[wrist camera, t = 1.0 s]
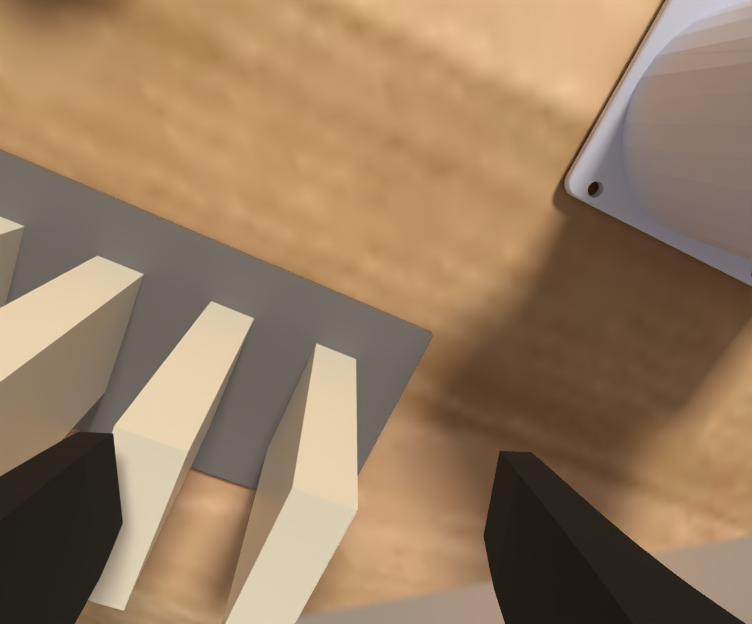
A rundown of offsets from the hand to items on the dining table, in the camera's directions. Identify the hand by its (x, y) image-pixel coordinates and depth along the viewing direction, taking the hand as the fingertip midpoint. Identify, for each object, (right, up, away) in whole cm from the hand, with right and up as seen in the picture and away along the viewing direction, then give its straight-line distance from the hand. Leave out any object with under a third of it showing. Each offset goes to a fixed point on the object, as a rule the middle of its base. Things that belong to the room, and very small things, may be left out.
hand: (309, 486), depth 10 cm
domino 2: (-5, +1, +10) cm, 11 cm away
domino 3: (-1, 0, +10) cm, 10 cm away
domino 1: (-9, +3, +9) cm, 13 cm away
